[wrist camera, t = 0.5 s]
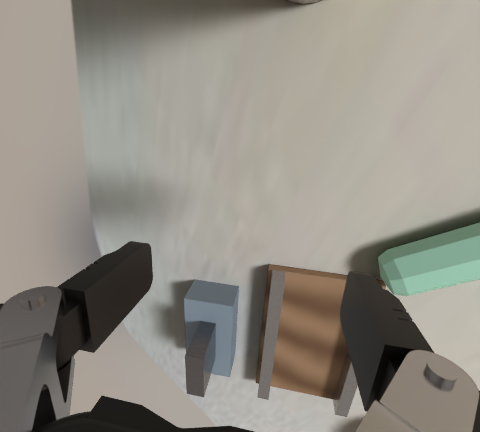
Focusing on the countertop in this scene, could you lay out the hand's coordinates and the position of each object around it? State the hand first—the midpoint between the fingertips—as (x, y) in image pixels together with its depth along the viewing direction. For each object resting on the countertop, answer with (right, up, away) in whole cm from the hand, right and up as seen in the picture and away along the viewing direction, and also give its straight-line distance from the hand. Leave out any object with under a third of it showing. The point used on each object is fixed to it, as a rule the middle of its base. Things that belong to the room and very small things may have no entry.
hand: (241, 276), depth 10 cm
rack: (+9, -13, +24) cm, 29 cm away
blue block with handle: (-3, -12, +26) cm, 29 cm away
